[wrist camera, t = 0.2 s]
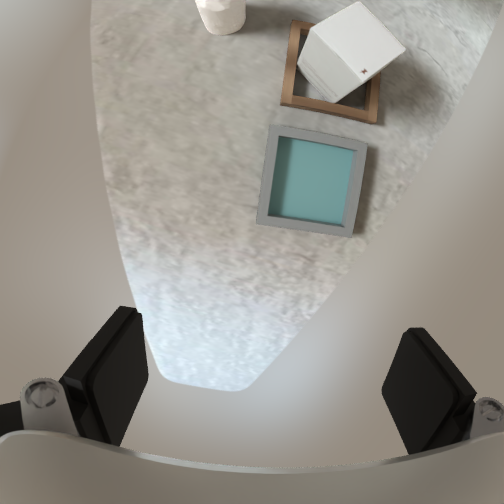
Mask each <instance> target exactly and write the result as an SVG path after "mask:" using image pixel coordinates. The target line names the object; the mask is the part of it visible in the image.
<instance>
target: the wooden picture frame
mask: <svg viewBox="0 0 504 504" xmlns="http://www.w3.org/2000/svg"><path fill="white" fill-rule="evenodd" d="M315 25H316V24H313V23H308V22H303V21H297V20H292V23H291V28H290V36H289V43H288V51H287V58H286V66H285V73H284V81H283V88H282V96H281V103H280V105H282V106H288V107H294V108H300V109H305V110H311V111H316V112H321V113H326V114H330V115H335V116H339V117H344V118H348V119H352V120H356V121H360V122H364V123H368V124H373V123H376V120H377V111H378V100H379V88H380V75H381V71H380V72H379V73H377V74H376V75H375V76H373V77H372V78H371V79H369V80H368V81H367V84H366V95H365V105H364V110H360V109H356V108H352V107H348V106H344V105H340V104H336V103H331V102H326V101H322V100H317V99H312V98H306V97H301V96H295V95H292V94H293V86H294V79H295V71H296V63H297V55H298V47H299V38H300V34H302V35H307V36H308V34H309V31H310V28H311V27H313V26H315Z"/></svg>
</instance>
